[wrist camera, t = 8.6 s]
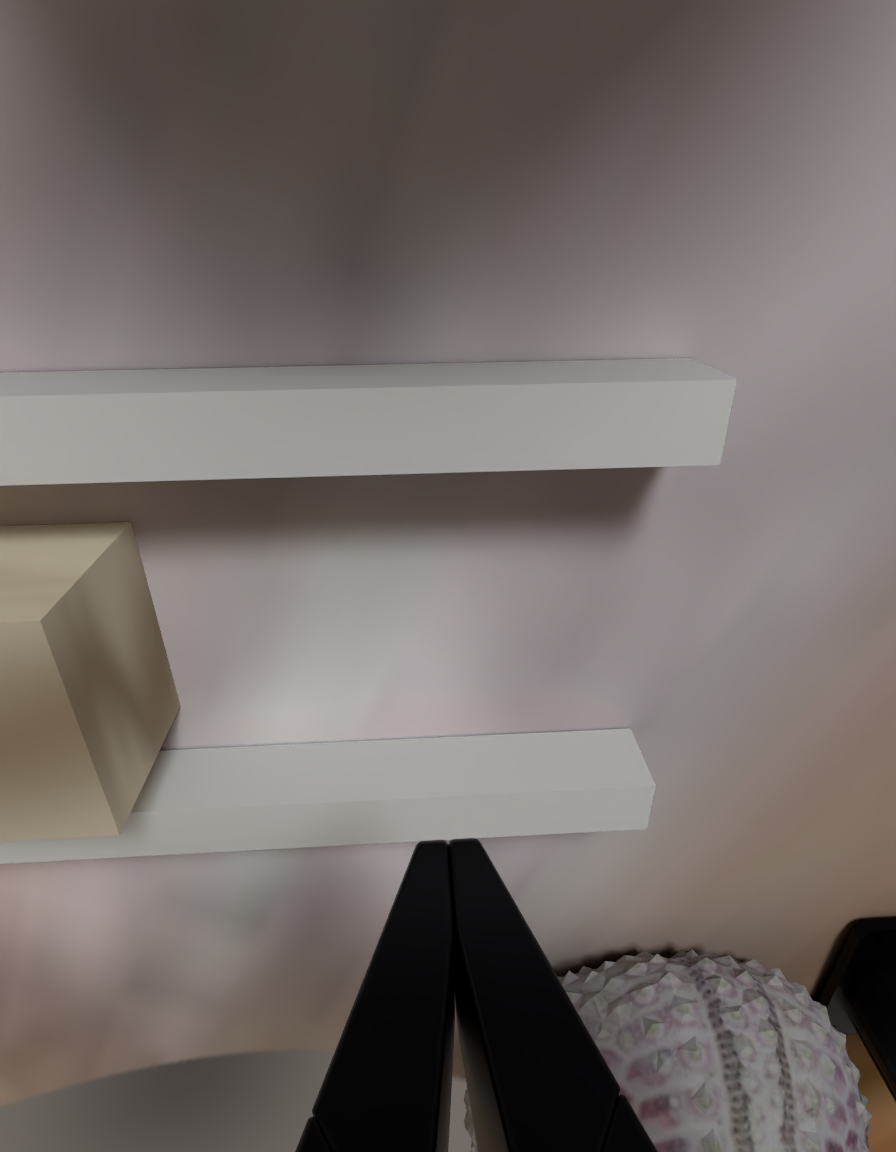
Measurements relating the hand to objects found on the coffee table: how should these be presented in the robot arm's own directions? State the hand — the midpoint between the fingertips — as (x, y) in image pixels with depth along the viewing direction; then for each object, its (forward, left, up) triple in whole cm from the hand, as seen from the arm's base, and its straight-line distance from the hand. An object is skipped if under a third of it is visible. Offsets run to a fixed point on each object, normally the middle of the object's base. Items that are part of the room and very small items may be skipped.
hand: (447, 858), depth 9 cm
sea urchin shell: (-19, -7, -7) cm, 22 cm away
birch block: (0, +9, -7) cm, 11 cm away
